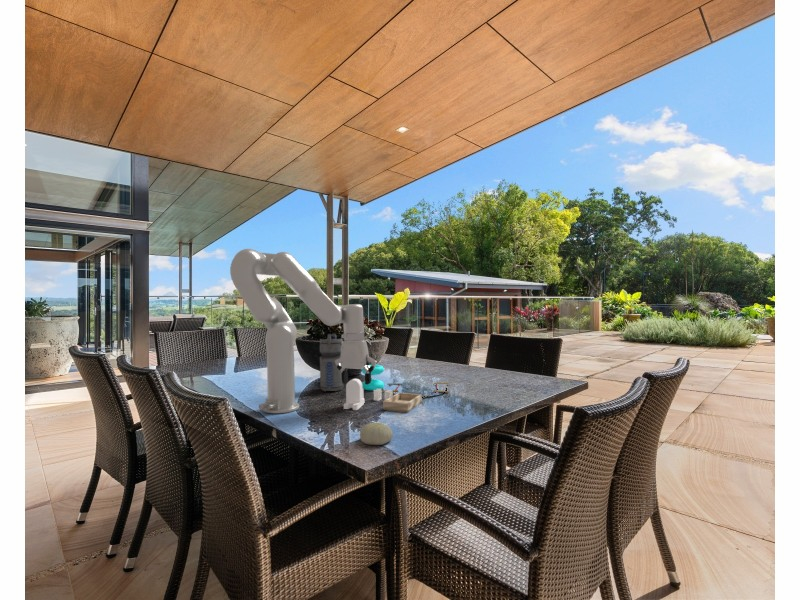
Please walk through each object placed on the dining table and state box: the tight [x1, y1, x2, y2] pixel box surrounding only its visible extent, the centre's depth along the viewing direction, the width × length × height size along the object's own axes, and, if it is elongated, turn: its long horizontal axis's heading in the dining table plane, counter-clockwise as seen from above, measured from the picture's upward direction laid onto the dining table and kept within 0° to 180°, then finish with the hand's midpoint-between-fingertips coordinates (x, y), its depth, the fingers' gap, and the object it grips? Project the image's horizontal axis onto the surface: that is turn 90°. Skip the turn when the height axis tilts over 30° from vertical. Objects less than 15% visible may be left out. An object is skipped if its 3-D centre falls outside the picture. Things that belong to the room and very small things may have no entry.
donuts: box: [360, 364, 385, 391], centre depth 180 cm, size 10×10×10 cm
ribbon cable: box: [382, 382, 451, 399], centre depth 173 cm, size 29×1×30 cm
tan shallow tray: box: [382, 392, 423, 413], centre depth 150 cm, size 15×10×3 cm, turn 157°
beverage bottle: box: [319, 333, 345, 392], centre depth 179 cm, size 10×13×25 cm
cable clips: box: [363, 388, 394, 402], centre depth 159 cm, size 5×14×4 cm, turn 67°
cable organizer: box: [343, 378, 366, 411], centre depth 150 cm, size 5×10×10 cm, turn 169°
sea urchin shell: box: [359, 421, 394, 446], centre depth 113 cm, size 9×8×8 cm
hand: (356, 383), depth 150 cm, fingers open, 9 cm apart
